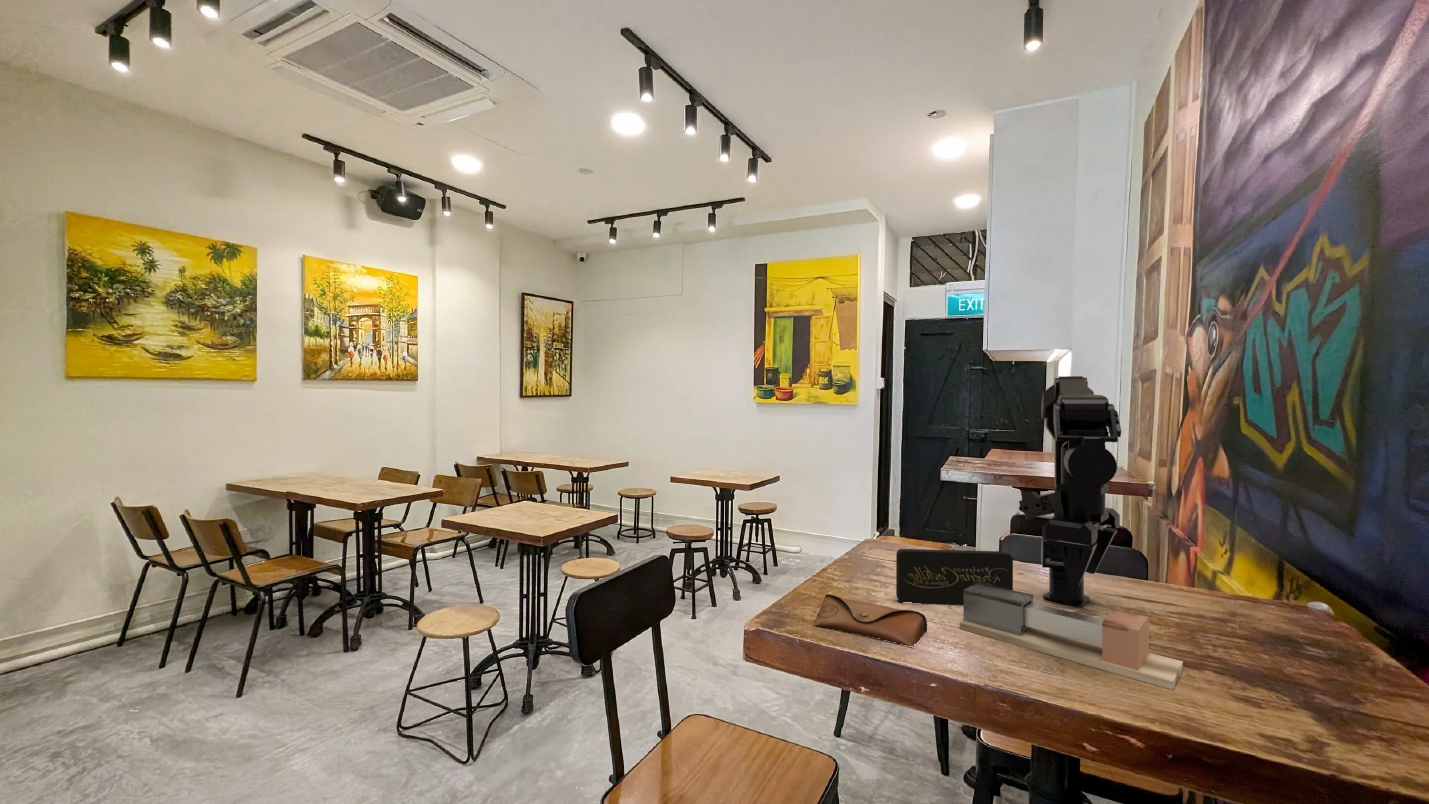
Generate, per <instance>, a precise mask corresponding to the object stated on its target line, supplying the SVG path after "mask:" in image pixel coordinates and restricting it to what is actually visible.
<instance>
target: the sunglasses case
mask: <svg viewBox="0 0 1429 804" xmlns="http://www.w3.org/2000/svg"><path fill="white" fill-rule="evenodd" d="M811 625H812V626H811V627H814V626H815V627H814V628H820V629H826V628H827V629H826V630H831V629H834V630H833V631H836V630H841V631H843V632H842V633H846V632H848V633H847V634H850V633H854V634H853V635H855V634H860V635H863V636H862V637H864V636H869V637H874V638H880V639H882V640H887V641H891V642H896V643H898V644H897V645H899V644H903V645H907V646H913V647H914V644H916V643H917V642H918V641H919V640H920V638H921V637H922V636H923V637H924V635H925V634H924V633H927V632H928V621H927V618H926V616H925V615H924V614H923V613H922V612H919V611H917V610H912V609H899V608H895V607H894V608H893V607H890V606H885V605H881V604H876V603H871V602H865V601H859V600H855V599H850V598H849V599H848V598H844V597H840V596H837V595H834V594H826V595H825V596H824V599H823V601H822V604H821V606H820V608H819V611H818V613H817V615H816V618H815V620H814V621H813V624H811ZM841 631H840V632H841ZM860 635H859V636H860ZM869 637H868V638H869ZM923 637H922V638H923ZM922 638H921V639H922ZM882 640H881V641H882ZM920 641H921V640H920ZM920 641H919V642H920ZM891 642H890V643H891ZM919 642H918V643H919ZM903 645H902V646H903Z"/></svg>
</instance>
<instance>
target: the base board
mask: <svg viewBox="0 0 1429 804" xmlns="http://www.w3.org/2000/svg"><path fill="white" fill-rule="evenodd" d="M959 629H960V630H963V631H966V632H970V633H973V634H975V635H980V636H983V637H987V638H991V639H994V640H998V641H1000V642H1004V643H1007V644H1012V645H1015V646H1019V647H1022V648H1025V649H1029V650H1032V651H1036V652H1040V653H1042V654H1046V655H1050V656H1054V657H1057V658H1061V659H1064V660H1068V661H1070V662H1074V663H1078V664H1081V665H1085V666H1088V667H1092V668H1095V669H1099V670H1103V671H1106V672H1109V673H1112V674H1115V675H1116V674H1117V675H1119V676H1122V677H1123V676H1124V677H1127V678H1131V679H1134V680H1138V681H1141V682H1144V683H1148V684H1150V685H1154V686H1158V687H1161V688H1165V689H1168V690H1172V691H1173V690H1174V688H1175V686H1176V684H1177V682H1178V680H1179V679H1180V676H1181V673H1182V672H1183V669H1184V661H1183V660H1179V659H1176V658H1175V659H1174V658H1171V657H1167V656H1163V655H1159V654H1155V653H1152V652H1149V655H1148V657H1147V658H1146V660H1145V661H1144V663H1143V664H1142V666H1141V667H1140V669H1139V670H1135V669H1131V668H1128V667H1124V666H1120V665H1117V664H1113V663H1110V662H1106V661H1102V646H1100V645H1097V644H1093V643H1089V642H1085V641H1081V640H1077V639H1074V638H1070V637H1066V636H1062V635H1058V634H1054V633H1051V632H1047V631H1043V630H1039V629H1035V628H1031V629H1030V630H1028V631H1027V632H1026V633H1024V634H1023V635H1022V636H1018V635H1014V634H1011V633H1007V632H1003V631H1000V630H996V629H992V628H989V627H985V626H981V625H978V624H974V623H970V622H967V621H963V620H962V621H960V622H959Z"/></svg>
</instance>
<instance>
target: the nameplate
mask: <svg viewBox="0 0 1429 804" xmlns="http://www.w3.org/2000/svg"><path fill="white" fill-rule="evenodd" d="M895 558H896V562H895V563H896V564H895V565H896V566H895V567H896V570H895V571H896V573H895V574H896V575H895V577H896V579H895V580H896V583H895V588H896V589H895V593H896V598H897V599H898V601H899V602H900V603H901V602H912V603H921V604H920V605H938V606H939V605H940V606H943V605H944V606H963V604H964V589H966V588H968V587H970V586H972V585H974V584H976V583H982V584H987V585H991V586H996V587H1000V588H1005V589H1009V590H1014V559H1013V556H1012V555H1011V554H1009V553H1008V552H1006V551H1003V550H1001V551H999V550H998V551H997V550H965V549H964V550H961V549H959V550H958V549H957V550H955V549H926V548H925V549H922V548H921V549H919V548H918V549H917V548H900V549H898V550H897V551H896V555H895Z"/></svg>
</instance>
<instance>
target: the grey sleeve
mask: <svg viewBox="0 0 1429 804" xmlns="http://www.w3.org/2000/svg"><path fill="white" fill-rule="evenodd" d="M1028 602H1031V603H1034V594H1032V593H1026V592H1021V591H1017V590H1014V589H1013V590H1009V589H1005V588H1000V587H996V586H991V585H987V584H982V583H976V584H974V585H972V586H970V587H968V588H966V589H964V604H963V605H962V606H963V607H962V608H963V618H962V619H963V620H962V621H967V622H970V623H974V624H978V625H981V626H985V627H989V628H992V629H996V630H1000V631H1003V632H1007V633H1011V634H1014V635H1018V636H1022V635H1023V634H1024V633H1026V632H1027V631H1028V630H1030V629H1031V627H1028V626H1024V625H1023V605H1025V604H1026V603H1028Z"/></svg>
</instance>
